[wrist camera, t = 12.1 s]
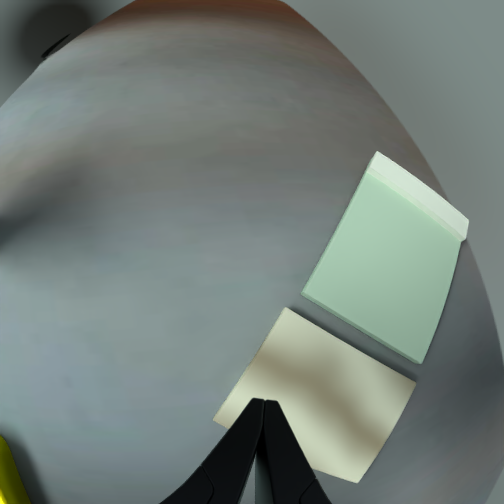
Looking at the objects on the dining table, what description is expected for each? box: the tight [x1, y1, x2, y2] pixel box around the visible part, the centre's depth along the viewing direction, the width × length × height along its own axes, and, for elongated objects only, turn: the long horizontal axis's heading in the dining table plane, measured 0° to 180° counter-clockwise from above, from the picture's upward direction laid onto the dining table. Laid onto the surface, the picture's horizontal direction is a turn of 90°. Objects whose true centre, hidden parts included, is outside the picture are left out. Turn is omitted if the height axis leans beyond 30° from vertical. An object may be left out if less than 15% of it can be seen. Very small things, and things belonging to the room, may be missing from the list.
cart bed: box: [213, 308, 416, 483], centre depth 18 cm, size 10×13×1 cm
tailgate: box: [301, 151, 469, 364], centre depth 22 cm, size 2×12×15 cm
